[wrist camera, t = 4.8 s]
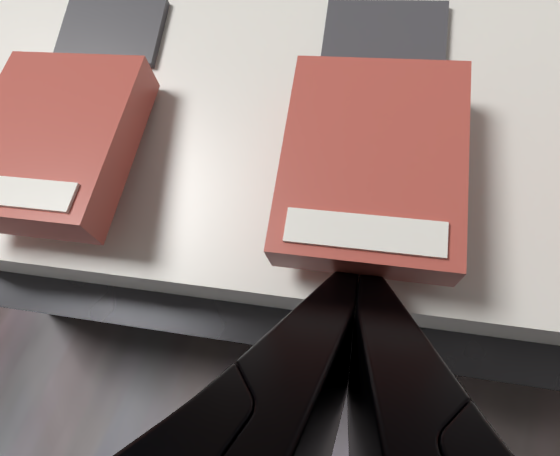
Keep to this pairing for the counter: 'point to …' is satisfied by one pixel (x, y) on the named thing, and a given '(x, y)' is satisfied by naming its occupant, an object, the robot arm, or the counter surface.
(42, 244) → the power strip
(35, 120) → the rocker
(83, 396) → the counter surface
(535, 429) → the counter surface
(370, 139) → the rocker middle
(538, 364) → the stand
